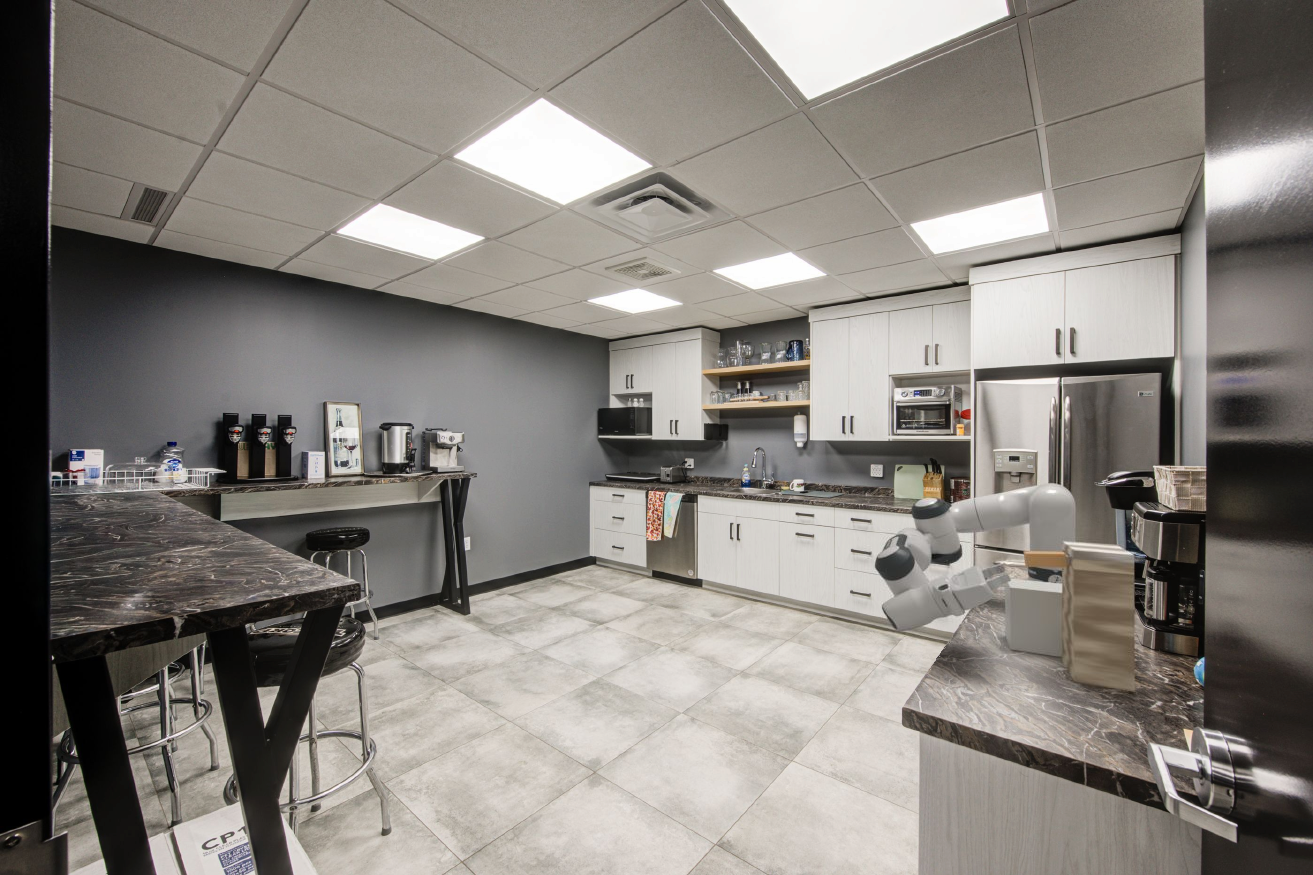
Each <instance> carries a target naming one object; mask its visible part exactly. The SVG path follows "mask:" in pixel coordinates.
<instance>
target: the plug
mask: <svg viewBox="0 0 1313 875" xmlns="http://www.w3.org/2000/svg"><path fill="white" fill-rule="evenodd" d="M1023 559H1024V564H1025V566H1026V568H1028V567H1062V568H1067V565H1070V555H1066V554H1065V553H1064V552H1047V551H1030V550H1028V551H1027V550H1026V551H1024V550H1023Z"/></svg>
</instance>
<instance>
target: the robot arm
mask: <svg viewBox="0 0 1313 875" xmlns="http://www.w3.org/2000/svg"><path fill="white" fill-rule="evenodd" d="M1076 509H1077V508H1076V501H1075V498H1074V496H1073V494H1072V492H1071V491H1070V490H1069V489H1067V487H1065V486H1064V485H1062V484H1058V483H1054V482H1051V483H1050V482H1049V483H1041V484H1038V485H1037V484H1036V485H1032V486H1027V487H1023V488H1018V489H1014V490H1008V491H1004V492H998V493H993V494H988V495H987V494H986V495H982V496H977V497H971V498H967V499H966V498H965V499H963V500H959V501H956V502H952V503H950V502H948V501H945V500H944V499H941V498H938V497H925V498H922V499H919V500H917V501H915V502H914V503H913V504H912V506H911V518H913V522H914V524H915V528H914V527H906V528H905V527H904V528H901V530H899V531H898V532H897V533H896V534H895V535H894V536H892V537H890V538H889V539H888V540H887V541H886V542H885V545H884V546H883V548H882V551H880V553H879V554H878V555H877V556H876V558H875V562H874V568H875V570H876V572H878V574H879V575H880V577H882V579H883V581H884V582H885V583H886V585H887V587H888V588H889V590H890V592H891V593H892V594H893V597H891V598H890V599H888V600H887V601H885V602H883V603H882V604H881V609H882V612H883V614H884V616H885V617H886V619H887V620H888V622H889V623H890V625H891V626H892V628H893V629H894V630H896V631H898V632H906V631H911V630H914V629H918V628H921V627H925V626H926V625H928V624H931V623H932V622H934V621H935V620H938V619H940V618H941V619H942V618H948V617H950V616H954V617H961V616H963V615H964V614H966V611H969V610H972V609H975V608H976V607H978V606H981V605H983V604H984V603H987V602H989V601H990V600H991V599H993V598H994V597H995V594H994V590H997V589H999V588H1000V587H1002V586H1004V585H1005V583H1007V582H1009V581H1011V579H1012V578H1011V576H1010V575H1009V574H1008V572H1006V568H1005V567H1004V565H1003V564H1001V563H999V564H996V565H992V566H988V567H984V568H982V567H981V566H980V565H973V566H972V567H971V566H970V567H969V568H966V569H964V570H962V571H961V572H958V573H956V574H953V575H952V577H951V578H949V577H948V576H947V575H945V574H944V575H942V576H939V577H937V578H934V579H932V580H929V578H928V577H927V576H926V573H924V572H925V571H926V570H927V569H928V568H929V567H930V565H931V563H934V564H935V565H936V564H937V565H942V566H943V565H945V566H946V565H952V564H955V563H956V562H959V560H960V559H961V558H962V557H963V548H962V547H963V546H962V544H961V543H960V538H959V534H972V533H973V534H974V533H981V532H990V531H997V530H1003V529H1011V528H1012V529H1013V528H1015V527H1016V528H1017V527H1019V526H1025V525H1029V529H1028V530H1029V551H1047V552H1062V541H1070V542H1076V511H1077V510H1076ZM996 575H998V576H996ZM1027 575H1028V576H1027V578H1026V580H1029V581H1039V582H1049V583H1059V584H1062V567H1027ZM993 576H995V577H993ZM992 577H993V578H992Z"/></svg>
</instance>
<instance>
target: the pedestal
mask: <svg viewBox="0 0 1313 875" xmlns="http://www.w3.org/2000/svg"><path fill="white" fill-rule="evenodd" d="M1010 579H1011V581H1009V582H1007V583H1004V585H1005V586H1004V593H1005V596H1004V597H1005V598H1004V601H1005V602H1004V606H1005V607H1004V608H1005V609H1004V612H1005V613H1004V614H1005V615H1004V616H1005V617H1004V619H1005V620H1004V621H1005V627H1004V628H1005V630H1004V632H1005V639H1006V641H1007V644H1008V647H1009V649H1010V651H1011V650H1012V651H1018V652H1026V653H1031V654H1032V653H1033V654H1038V655H1045V656H1052V657H1059V658H1062V584H1059V583H1049V582H1039V581H1029V580H1027V579H1026V580H1025V579H1017V578H1010Z"/></svg>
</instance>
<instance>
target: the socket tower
mask: <svg viewBox="0 0 1313 875" xmlns="http://www.w3.org/2000/svg"><path fill="white" fill-rule="evenodd" d="M1062 552H1064V553H1065V554H1066V555H1070V565H1067V568H1062V657H1061V658H1062V661H1061V662H1062V663H1063V665H1064V666H1065V668H1066V669H1067V671H1068V674H1069V675H1070V677H1071V679H1072V680H1073V682H1074V683H1079V684H1085V685H1090V686H1096V687H1103V688H1108V689H1114V690H1119V691H1120V690H1121V691H1126V692H1133V693H1135V692H1136V691H1135V689H1136V688H1135V687H1136V686H1135V685H1136V684H1135V683H1136V682H1135V680H1136V679H1135V673H1136V672H1135V670H1136V669H1135V661H1136V660H1135V657H1136V656H1135V554H1133V553H1131V552H1130V551H1128V550H1126V549H1125V548H1123V547H1121V546H1120V545H1119V544H1113V543H1111V544H1110V543H1098V542H1097V543H1096V542H1095V543H1094V542H1079V541H1075V542H1070V541H1062Z"/></svg>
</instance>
